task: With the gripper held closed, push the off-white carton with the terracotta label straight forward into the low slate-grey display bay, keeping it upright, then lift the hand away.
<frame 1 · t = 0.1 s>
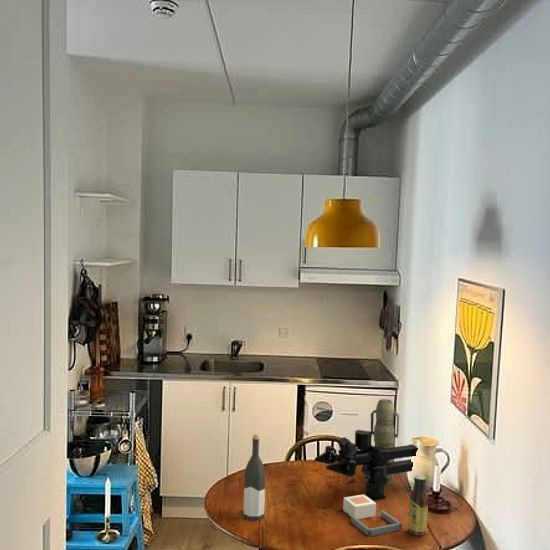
hand: (320, 463, 221), 17 cm above the table, tool horizontal, fingers open, 9 cm apart
carton: (359, 513, 216), on the table
sauce bottle: (417, 533, 202), on the table
thermos: (382, 482, 247), on the table
display bay: (375, 525, 207), on the table
wine bottle: (253, 516, 211), on the table
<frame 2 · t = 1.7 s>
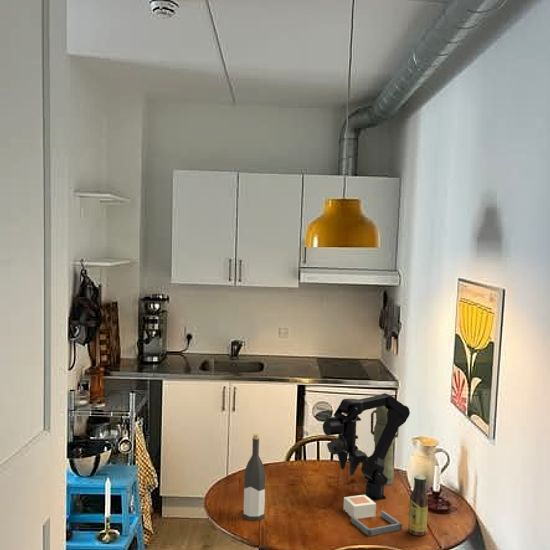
hand: (347, 472, 225), 12 cm above the table, tool pointing down, fingers open, 6 cm apart
nothing on the table moved.
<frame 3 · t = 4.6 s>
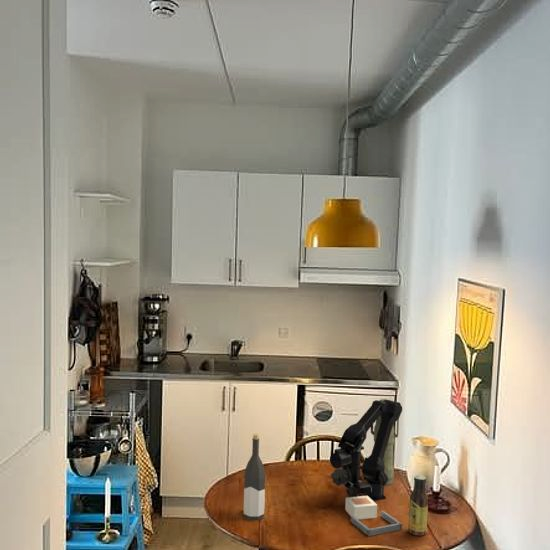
hand: (351, 502, 221), 2 cm above the table, tool pointing down, fingers closed
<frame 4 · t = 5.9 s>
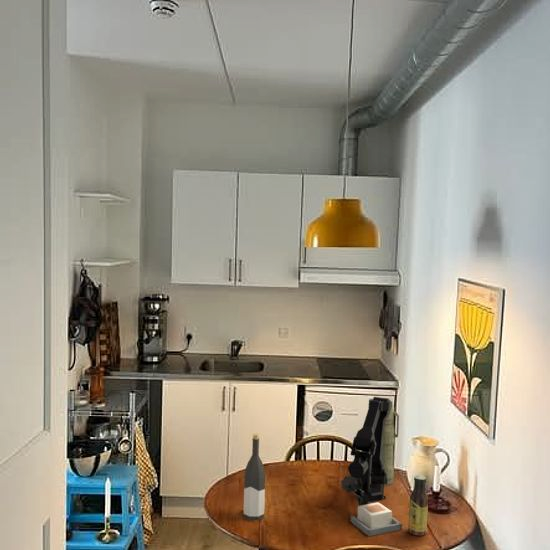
hand: (361, 510, 214), 2 cm above the table, tool pointing down, fingers closed
carton: (374, 522, 210), resting in display bay, touching gripper
everything else where it was.
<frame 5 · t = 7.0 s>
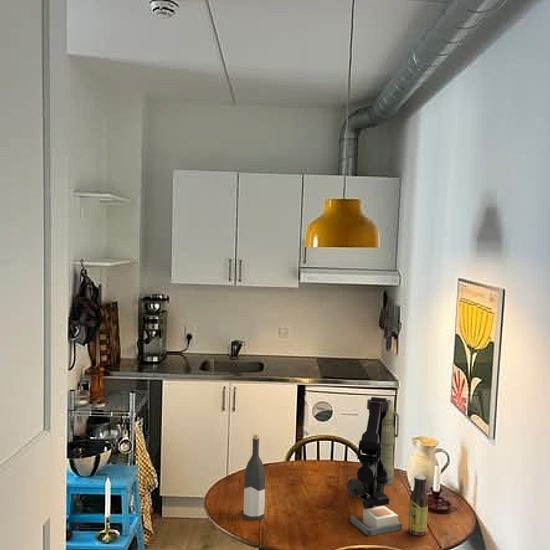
hand: (367, 514, 211), 2 cm above the table, tool pointing down, fingers closed
carton: (380, 526, 206), resting in display bay, touching gripper
everything else where it was.
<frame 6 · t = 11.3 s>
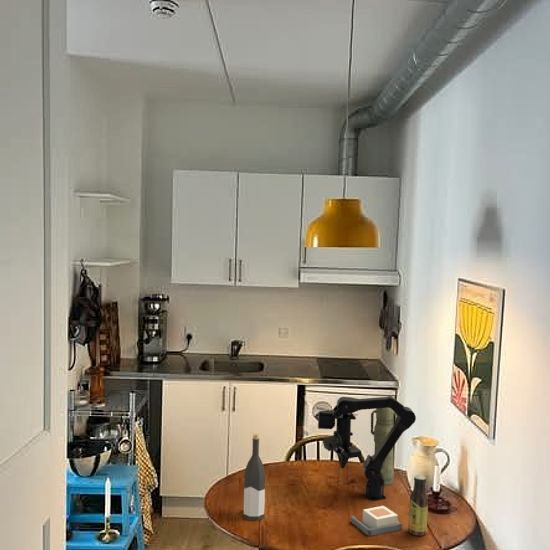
hand: (342, 468, 232), 11 cm above the table, tool pointing down, fingers closed
carton: (379, 526, 206), resting in display bay
everything else where it was.
at the end: carton 2.0 cm off-centre on the display bay, point 0.0 cm above the display bay's base; carton tilted 0°; carton moved 11.4 cm from its start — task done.
